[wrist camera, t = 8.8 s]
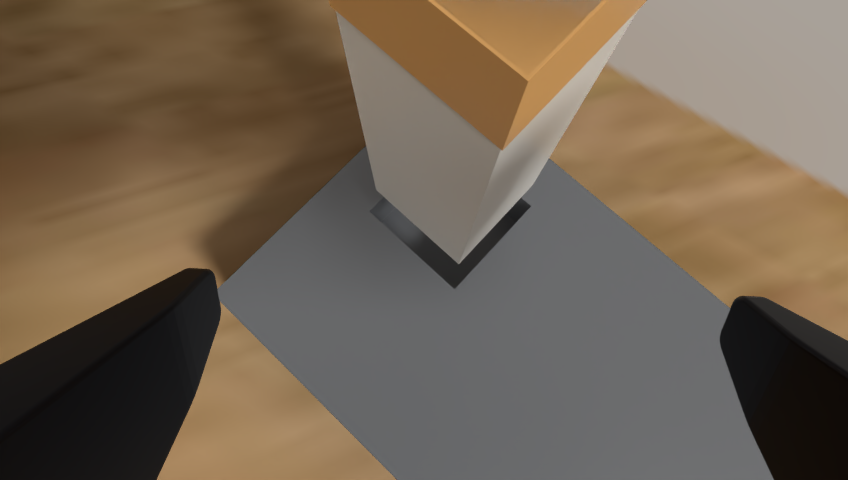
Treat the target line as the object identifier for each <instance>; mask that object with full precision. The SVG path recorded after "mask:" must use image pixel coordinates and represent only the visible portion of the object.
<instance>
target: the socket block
mask: <svg viewBox="0 0 848 480" xmlns="http://www.w3.org/2000/svg"><path fill="white" fill-rule="evenodd" d="M217 290H218V296H219V301H220V302H221V303H222V304H223V305H224V306H225V307H226V308H227V309H228V310H229V311H230V312H231V313H232V314H233V315H234V316H235V317H236V318H237V319H238V320H239V321H240V322H241V323H242V324H243V325H244V326H245V327H246V328H247V329H248V330H249V331H250V332H251V333H252V334H253V335H254V336H255V337H256V338H257V339H258V340H259V341H260V342H261V343H262V344H263V345H264V346H265V347H266V348H267V349H268V350H269V351H270V352H271V353H272V354H273V355H274V356H275V357H276V358H277V359H278V360H279V361H280V362H281V363H282V364H283V365H284V366H285V367H286V368H287V369H288V370H289V371H290V372H291V373H292V374H293V375H294V376H295V377H296V378H297V379H298V380H299V381H300V382H301V383H302V384H303V385H304V386H305V387H306V388H307V389H308V390H309V391H310V392H311V393H312V394H313V395H314V396H315V397H316V398H317V399H318V400H319V401H320V402H321V403H322V404H323V405H324V407H325V408H326V409H327V410H328V411H329V412H330V413H331V414H332V415H333V416H334V417H335V418H336V419H337V420H338V421H339V422H340V423H341V424H342V425H343V426H344V427H345V428H346V429H347V430H348V431H349V432H350V433H351V434H352V435H353V436H354V437H355V438H356V439H357V440H358V441H359V442H360V443H361V444H362V445H363V446H364V447H365V448H366V449H367V450H368V451H369V452H370V453H371V454H372V455H373V456H374V457H375V458H376V459H377V460H378V461H379V462H380V463H381V464H382V465H383V466H384V467H385V468H386V469H387V470H388V471H389V472H390V473H391V474H392V475H393V476H394V477H395V478H396V479H397V480H774V479H773V477H772V475H771V473H770V471H769V469H768V467H767V464H766V462H765V460H764V458H763V456H762V454H761V452H760V450H759V448H758V446H757V443H756V441H755V439H754V437H753V435H752V433H751V430H750V428H749V426H748V423H747V421H746V418H745V416H744V413H743V410H742V407H741V404H740V402H739V399H738V396H737V393H736V390H735V387H734V384H733V381H732V379H731V376H730V373H729V370H728V367H727V364H726V361H725V358H724V356H723V353H722V350H721V346H720V333H721V330H722V328H723V325H724V323H725V320H726V318H727V315H728V313H729V311H730V308H729V307H728V306H727V305H725V304H724V303H723V302H722V301H720V300H719V299H718V298H717V297H716V296H714V295H713V294H712V293H711V292H710V291H708V290H707V289H706V288H705V287H704V286H702V285H701V284H700V283H699V282H698V281H696V280H695V279H694V278H693V277H692V276H690V275H689V274H688V273H687V272H686V271H684V270H683V269H682V268H681V267H680V266H678V265H677V264H676V263H675V262H673V261H672V260H671V259H670V258H669V257H667V256H666V255H665V254H664V253H663V252H661V251H660V250H659V249H658V248H657V247H655V246H654V245H653V244H652V243H651V242H649V241H648V240H647V239H646V238H645V237H643V236H642V235H641V234H640V233H639V232H637V231H636V230H635V229H634V228H632V227H631V226H630V225H629V224H628V223H626V222H625V221H624V220H623V219H622V218H620V217H619V216H618V215H617V214H616V213H614V212H613V211H612V210H611V209H610V208H608V207H607V206H606V205H605V204H604V203H602V202H601V201H600V200H599V199H598V198H596V197H595V196H594V195H593V194H591V193H590V192H589V191H588V190H587V189H585V188H584V187H583V186H582V185H581V184H579V183H578V182H577V181H576V180H575V179H573V178H572V177H571V176H570V175H569V174H567V173H566V172H565V171H564V170H563V169H561V168H560V167H559V166H558V165H557V164H555V163H554V162H553V161H552V160H550V159H548V160H547V162H546V164H545V165H544V167H543V169H542V170H541V172H540V174H539V175H538V177H537V179H536V180H535V182H534V184H533V185H532V186H531V187H530V188H529V190H528V191H527V192H526V193H525V194H524V195H523V196H522V197H521V198H520V199H519V200H518V201H517V202H516V203H515V205H514V206H513V207H512V208H511V209H510V210H509V211H508V212H507V213H506V214H505V215H504V216H503V217H502V219H501V220H500V221H499V222H498V223H497V224H496V225H495V226H494V227H493V228H492V229H491V230H490V231H489V232H488V234H487V235H486V236H485V237H484V238H483V239H482V240H481V241H480V242H479V243H478V244H477V245H476V246H475V248H474V249H473V250H472V251H471V252H470V253H469V254H468V255H467V256H466V257H465V258H464V259H463V260H462V261H461V263H460V264H458V263H457V262H456V261H454V260H453V259H452V258H451V257H450V256H449V255H448V254H447V253H446V252H444V251H443V250H442V249H441V248H440V247H439V246H438V245H437V244H436V243H434V242H433V241H432V240H431V239H430V238H429V237H428V236H427V235H426V234H424V233H423V232H422V231H421V230H420V229H419V228H418V227H417V226H416V225H414V224H413V223H412V222H411V221H410V220H409V219H408V218H407V217H406V216H404V215H403V214H402V213H401V212H400V211H399V210H398V209H397V208H396V207H394V206H393V205H392V204H391V203H390V202H389V201H388V200H387V199H386V198H384V197H383V196H382V195H381V194H380V193H379V192H378V191H377V190H376V187H375V183H374V178H373V174H372V169H371V165H370V161H369V156H368V152H367V147H366V146H365V147H364V148H363V149H362V150H361V151H360V152H359V153H358V154H357V155H356V156H355V157H354V158H353V159H352V160H351V161H350V162H348V163H347V164H346V165H345V166H344V167H343V168H342V169H341V170H340V171H339V172H338V173H337V174H336V175H335V176H334V177H333V178H332V179H331V180H330V181H329V182H328V183H327V184H326V185H325V186H324V187H323V188H322V189H321V190H320V191H319V192H317V193H316V194H315V195H314V196H313V197H312V198H311V199H310V200H309V201H308V202H307V203H306V204H305V205H304V206H303V207H302V208H301V209H300V210H299V211H298V212H297V213H296V214H295V215H294V216H293V217H292V218H291V219H290V220H289V221H287V222H286V223H285V224H284V225H283V226H282V227H281V228H280V229H279V230H278V231H277V232H276V233H275V234H274V235H273V236H272V237H271V238H270V239H269V240H268V241H267V242H266V243H265V244H264V245H263V246H262V247H261V248H260V249H259V250H257V251H256V252H255V253H254V254H253V255H252V256H251V257H250V258H249V259H248V260H247V261H246V262H245V263H244V264H243V265H242V266H241V267H240V268H239V269H238V270H237V271H236V272H235V273H234V274H233V275H232V276H231V277H230V278H229V279H228V280H226V281H225V282H224V283H223V284H222V285H221V286H220V287H219V288H218V289H217Z"/></svg>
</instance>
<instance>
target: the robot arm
mask: <svg viewBox="0 0 848 480" xmlns="http://www.w3.org/2000/svg"><path fill="white" fill-rule="evenodd" d="M220 316H221V307H220V301H219V296H218V290H217V285H216V280H215V276H214V273H213V272H212V271H211V270H210V269H198V268H187V269H184V270H183V271H181V272H179V273H177V274H175V275H173V276H171V277H169V278H167V279H165V280H163V281H161V282H159V283H157V284H155V285H153V286H152V287H150V288H148V289H146V290H144V291H142V292H140V293H138V294H136V295H134V296H132V297H130V298H128V299H126V300H124V301H122V302H121V303H119V304H117V305H115V306H113V307H111V308H109V309H107V310H105V311H103V312H101V313H99V314H97V315H95V316H93V317H91V318H89V319H88V320H86V321H84V322H82V323H80V324H78V325H76V326H74V327H72V328H70V329H68V330H66V331H64V332H62V333H60V334H58V335H57V336H55V337H53V338H51V339H49V340H47V341H45V342H43V343H41V344H39V345H37V346H35V347H33V348H31V349H29V350H27V351H25V352H24V353H22V354H20V355H18V356H16V357H14V358H12V359H10V360H8V361H6V362H4V363H2V364H0V480H157V477H158V475H159V473H160V471H161V469H162V467H163V465H164V462H165V460H166V458H167V456H168V454H169V452H170V449H171V447H172V445H173V443H174V441H175V439H176V437H177V434H178V432H179V430H180V428H181V426H182V424H183V421H184V419H185V417H186V415H187V413H188V411H189V408H190V406H191V404H192V401H193V399H194V397H195V394H196V391H197V389H198V386H199V383H200V380H201V377H202V374H203V371H204V368H205V364H206V361H207V358H208V355H209V352H210V349H211V346H212V343H213V340H214V337H215V334H216V331H217V328H218V325H219V321H220ZM720 346H721V350H722V353H723V356H724V358H725V361H726V364H727V367H728V370H729V373H730V376H731V379H732V381H733V384H734V387H735V390H736V393H737V396H738V399H739V402H740V404H741V407H742V410H743V413H744V416H745V418H746V421H747V423H748V426H749V428H750V430H751V433H752V435H753V437H754V439H755V441H756V443H757V446H758V448H759V450H760V452H761V454H762V456H763V458H764V460H765V462H766V464H767V467H768V469H769V471H770V473H771V475H772V477H773V479H774V480H848V341H847V340H845V339H843V338H841V337H840V336H838V335H836V334H834V333H832V332H830V331H828V330H826V329H824V328H822V327H820V326H819V325H817V324H815V323H813V322H811V321H809V320H807V319H805V318H803V317H801V316H799V315H797V314H796V313H794V312H792V311H790V310H788V309H786V308H784V307H782V306H780V305H778V304H776V303H775V302H773V301H771V300H769V299H767V298H764V297H756V296H740V297H738V298H736V299H735V300H734V302H733V304H732V306H731V308H730V311H729V313H728V315H727V318H726V320H725V323H724V325H723V328H722V330H721V333H720Z"/></svg>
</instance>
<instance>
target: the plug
mask: <svg viewBox="0 0 848 480" xmlns="http://www.w3.org/2000/svg"><path fill="white" fill-rule="evenodd" d="M646 1H647V0H329V4H330V6H331V7H332V8H333V9H334V10H335V11H336V15H337V19H338V24H339V28H340V33H341V37H342V41H343V46H344V50H345V55H346V59H347V63H348V68H349V72H350V77H351V81H352V86H353V90H354V94H355V99H356V103H357V108H358V112H359V116H360V121H361V125H362V130H363V134H364V139H365V143H366V147H367V152H368V156H369V161H370V165H371V169H372V174H373V178H374V183H375V187H376V190H377V191H378V192H379V193H380V194H381V195H382V196H383V197H384V198H386V199H387V200H388V201H389V202H390V203H391V204H392V205H393V206H394V207H396V208H397V209H398V210H399V211H400V212H401V213H402V214H403V215H404V216H406V217H407V218H408V219H409V220H410V221H411V222H412V223H413V224H414V225H416V226H417V227H418V228H419V229H420V230H421V231H422V232H423V233H424V234H426V235H427V236H428V237H429V238H430V239H431V240H432V241H433V242H434V243H436V244H437V245H438V246H439V247H440V248H441V249H442V250H443V251H444V252H446V253H447V254H448V255H449V256H450V257H451V258H452V259H453V260H454V261H456V262H457V263H458V264H460V263H461V261H462V260H463V259H464V258H465V257H466V256H467V255H468V254H469V253H470V252H471V251H472V250H473V249H474V248H475V246H476V245H477V244H478V243H479V242H480V241H481V240H482V239H483V238H484V237H485V236H486V235H487V234H488V232H489V231H490V230H491V229H492V228H493V227H494V226H495V225H496V224H497V223H498V222H499V221H500V220H501V219H502V217H503V216H504V215H505V214H506V213H507V212H508V211H509V210H510V209H511V208H512V207H513V206H514V205H515V203H516V202H517V201H518V200H519V199H520V198H521V197H522V196H523V195H524V194H525V193H526V192H527V191H528V190H529V188H530V187H531V186H532V185H533V184H534V182H535V180H536V179H537V177H538V175H539V174H540V172H541V170H542V169H543V167H544V165H545V164H546V162H547V160H548V159H549V157H550V155H551V154H552V152H553V150H554V149H555V147H556V145H557V144H558V142H559V141H560V139H561V137H562V136H563V134H564V132H565V131H566V129H567V127H568V126H569V124H570V122H571V121H572V119H573V117H574V116H575V114H576V112H577V111H578V109H579V107H580V106H581V104H582V102H583V101H584V99H585V97H586V96H587V94H588V92H589V91H590V89H591V87H592V86H593V84H594V82H595V81H596V79H597V77H598V76H599V74H600V72H601V71H602V69H603V67H604V66H605V64H606V62H607V61H608V59H609V57H610V55H611V54H612V52H613V51H614V49H615V47H616V46H617V44H618V43H619V41H620V39H621V38H622V36H623V34H624V33H625V31H626V29H627V28H628V26H629V24H630V22H631V21H632V19H633V17H634V16H635V14H636V13H637V11H638V9H639V8H640V7H641V6H642V5H643V4H644V3H645V2H646Z"/></svg>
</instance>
